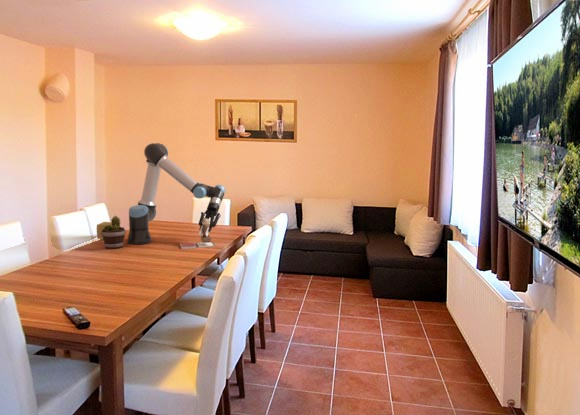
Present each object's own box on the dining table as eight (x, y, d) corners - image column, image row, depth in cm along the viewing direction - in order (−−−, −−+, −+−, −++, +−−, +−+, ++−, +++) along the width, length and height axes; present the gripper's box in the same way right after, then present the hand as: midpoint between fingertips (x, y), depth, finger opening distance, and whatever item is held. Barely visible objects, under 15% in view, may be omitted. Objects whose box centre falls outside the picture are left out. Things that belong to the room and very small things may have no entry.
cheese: (118, 236, 305) (118, 222, 303) (111, 239, 294) (110, 224, 293) (104, 235, 306) (103, 221, 304) (96, 239, 295) (95, 224, 294)
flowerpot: (118, 250, 265) (117, 217, 262) (95, 249, 268) (94, 216, 265) (131, 245, 279) (130, 214, 276) (109, 243, 282) (108, 212, 279)
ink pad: (179, 245, 280) (179, 243, 280) (194, 244, 283) (194, 242, 283) (181, 248, 272) (181, 246, 272) (196, 247, 275) (196, 245, 275)
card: (195, 243, 287) (195, 242, 287) (212, 242, 290) (212, 241, 290) (197, 247, 276) (197, 246, 276) (215, 246, 280) (215, 245, 280)
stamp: (201, 240, 285) (200, 217, 283) (209, 239, 287) (208, 217, 285) (202, 242, 279) (202, 219, 277) (210, 241, 281) (210, 219, 278)
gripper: (227, 209, 293) (217, 239, 279) (204, 208, 297) (193, 237, 284) (224, 202, 287) (213, 232, 273) (200, 201, 291) (189, 231, 278)
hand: (203, 235), depth 279 cm, fingers closed on stamp, 3 cm apart
